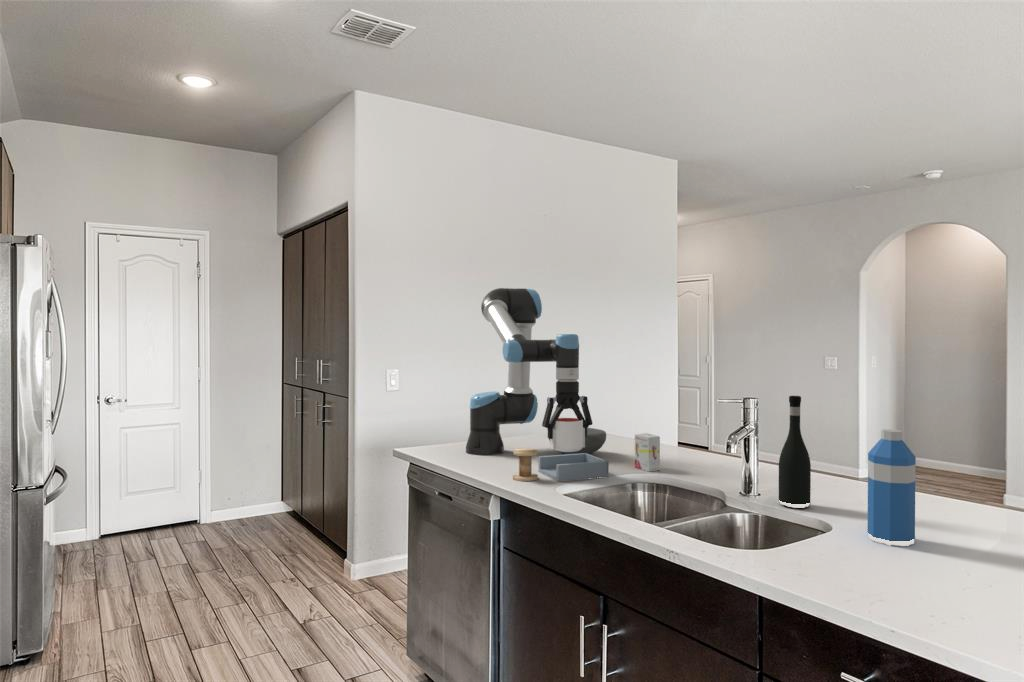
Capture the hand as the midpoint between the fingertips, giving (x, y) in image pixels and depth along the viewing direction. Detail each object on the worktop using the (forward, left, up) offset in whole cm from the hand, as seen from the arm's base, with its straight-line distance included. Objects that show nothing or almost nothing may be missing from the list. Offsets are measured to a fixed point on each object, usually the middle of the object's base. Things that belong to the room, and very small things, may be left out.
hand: (567, 447), depth 218 cm
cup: (0, 0, -1) cm, 1 cm away
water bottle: (+88, +39, -9) cm, 97 cm away
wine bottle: (+57, +41, -9) cm, 71 cm away
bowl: (-31, +19, -9) cm, 38 cm away
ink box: (+1, +30, -9) cm, 31 cm away
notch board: (0, +2, -9) cm, 9 cm away
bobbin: (0, -15, -9) cm, 18 cm away
